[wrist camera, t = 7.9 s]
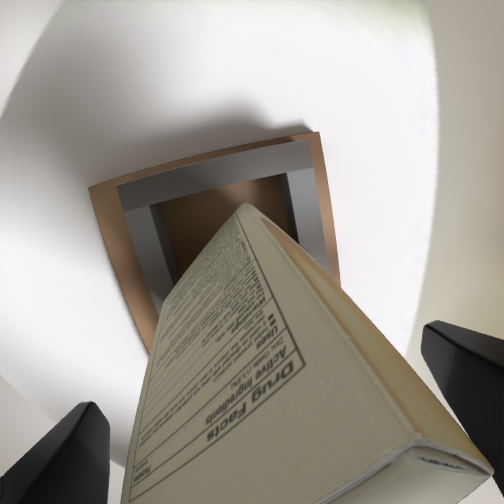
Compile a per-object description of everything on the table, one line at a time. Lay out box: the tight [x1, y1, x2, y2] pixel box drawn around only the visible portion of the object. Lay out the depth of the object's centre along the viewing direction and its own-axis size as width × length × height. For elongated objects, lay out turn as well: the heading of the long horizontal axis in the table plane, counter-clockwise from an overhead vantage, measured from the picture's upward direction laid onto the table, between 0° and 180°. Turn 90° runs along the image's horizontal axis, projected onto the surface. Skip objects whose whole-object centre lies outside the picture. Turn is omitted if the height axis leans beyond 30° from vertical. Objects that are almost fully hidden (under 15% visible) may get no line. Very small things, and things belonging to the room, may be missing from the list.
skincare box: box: [120, 203, 494, 504], centre depth 9 cm, size 6×4×12 cm
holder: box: [88, 132, 341, 355], centre depth 16 cm, size 12×12×3 cm
